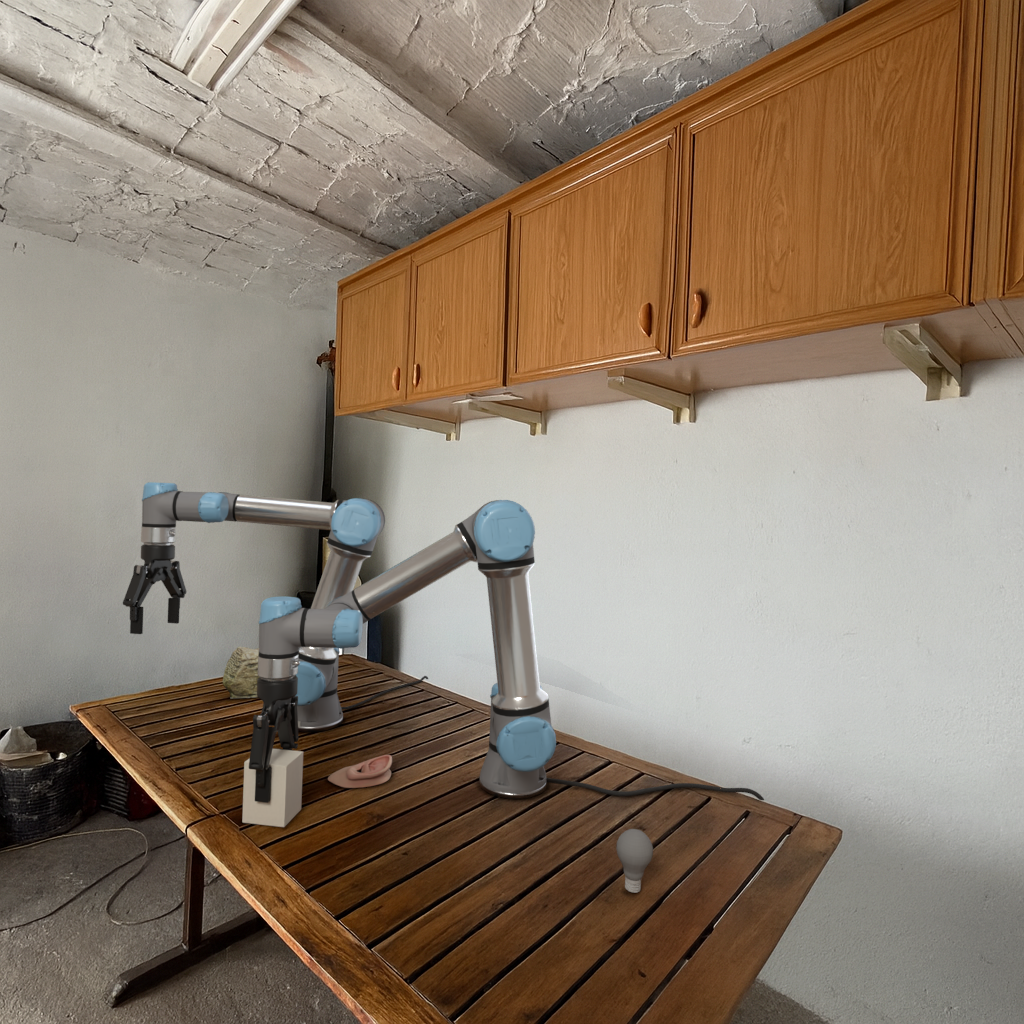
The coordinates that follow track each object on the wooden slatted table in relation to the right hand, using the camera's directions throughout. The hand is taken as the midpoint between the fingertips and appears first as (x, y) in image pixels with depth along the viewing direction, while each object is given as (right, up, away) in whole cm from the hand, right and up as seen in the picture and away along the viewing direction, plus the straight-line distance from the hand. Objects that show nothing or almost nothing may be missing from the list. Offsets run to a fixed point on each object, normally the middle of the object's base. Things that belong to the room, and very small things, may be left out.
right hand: (273, 790), depth 125 cm
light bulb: (+67, -8, -19) cm, 70 cm away
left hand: (-43, +26, +34) cm, 60 cm away
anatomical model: (+13, -5, +18) cm, 23 cm away
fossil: (-34, -2, +73) cm, 80 cm away
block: (0, -5, 0) cm, 5 cm away
